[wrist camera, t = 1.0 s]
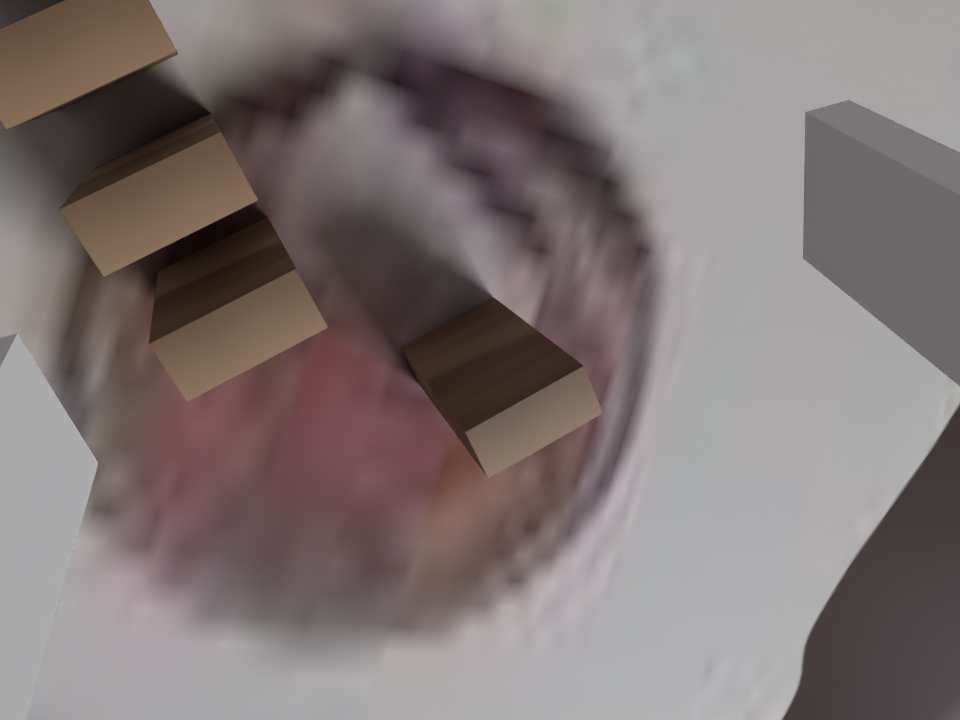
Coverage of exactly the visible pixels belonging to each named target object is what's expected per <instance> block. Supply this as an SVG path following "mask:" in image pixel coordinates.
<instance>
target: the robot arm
mask: <svg viewBox="0 0 960 720" xmlns="http://www.w3.org/2000/svg"><path fill="white" fill-rule="evenodd" d="M803 259H805V260H806V261H807V262H808V263H810V264H811V265H812V266H813V267H814V268H816V269H817V270H818V271H819V272H821V273H822V274H823V275H824V276H825V277H827V278H828V279H829V280H830V281H832V282H833V283H834V284H835V285H837V286H838V287H839V288H840V289H841V290H843V291H844V292H845V293H846V294H848V295H849V296H850V297H851V298H852V299H854V300H855V301H856V302H857V303H859V304H860V305H861V306H862V307H863V308H865V309H866V310H867V311H868V312H870V313H871V314H872V315H873V316H874V317H876V318H877V319H878V320H879V321H881V322H882V323H883V324H884V325H886V326H887V327H888V328H889V329H890V330H892V331H893V332H894V333H895V334H897V335H898V336H899V337H900V338H901V339H903V340H904V341H905V342H906V343H908V344H909V345H910V346H911V347H912V348H914V349H915V350H916V351H917V352H919V353H920V354H921V355H922V356H923V357H925V358H926V359H927V360H928V361H930V362H931V363H932V364H933V365H935V366H936V367H937V368H938V369H939V370H941V371H942V372H943V373H944V374H946V375H947V376H948V377H949V378H950V379H952V380H953V381H954V382H955V383H957V384H958V385H959V386H960V152H957V151H955V150H953V149H951V148H949V147H947V146H945V145H943V144H941V143H939V142H936V141H934V140H932V139H930V138H928V137H926V136H924V135H922V134H920V133H917V132H915V131H913V130H911V129H909V128H907V127H905V126H903V125H901V124H898V123H896V122H894V121H892V120H890V119H888V118H886V117H884V116H882V115H879V114H877V113H875V112H873V111H871V110H869V109H867V108H865V107H863V106H860V105H858V104H856V103H854V102H852V101H850V100H847V101H844V102H840V103H837V104H833V105H829V106H826V107H822V108H819V109H815V110H812V111H808V112H805V171H804V231H803ZM97 466H98V462H97V461H96V459H95V457H94V456H93V454H92V453H91V451H90V449H89V448H88V446H87V445H86V443H85V441H84V440H83V438H82V437H81V435H80V433H79V432H78V430H77V428H76V427H75V425H74V424H73V422H72V420H71V419H70V417H69V416H68V414H67V412H66V411H65V409H64V408H63V406H62V404H61V403H60V401H59V400H58V398H57V396H56V395H55V393H54V392H53V390H52V388H51V387H50V385H49V384H48V382H47V380H46V379H45V377H44V376H43V374H42V372H41V371H40V369H39V368H38V366H37V364H36V363H35V361H34V360H33V358H32V356H31V355H30V353H29V352H28V350H27V348H26V347H25V345H24V344H23V342H22V340H21V339H20V337H19V336H18V334H14V335H11V336H7V337H4V338H0V720H26V717H27V714H28V710H29V707H30V703H31V700H32V696H33V693H34V689H35V685H36V682H37V678H38V675H39V671H40V668H41V664H42V661H43V657H44V654H45V650H46V647H47V643H48V639H49V636H50V632H51V629H52V625H53V622H54V618H55V615H56V611H57V608H58V604H59V600H60V597H61V593H62V590H63V586H64V583H65V579H66V576H67V572H68V569H69V565H70V562H71V558H72V554H73V551H74V547H75V544H76V540H77V537H78V533H79V530H80V526H81V523H82V519H83V516H84V512H85V508H86V505H87V501H88V498H89V494H90V491H91V487H92V484H93V480H94V477H95V473H96V470H97Z"/></svg>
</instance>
